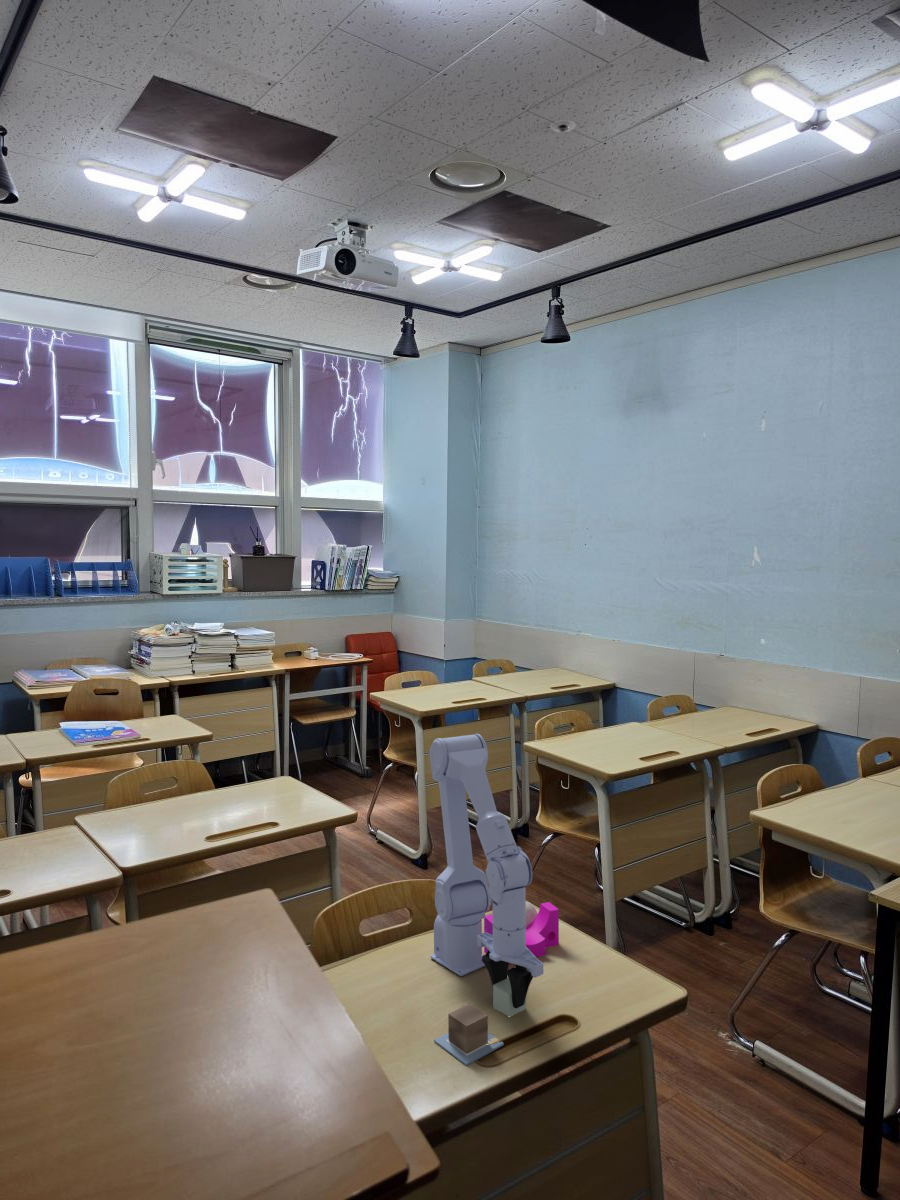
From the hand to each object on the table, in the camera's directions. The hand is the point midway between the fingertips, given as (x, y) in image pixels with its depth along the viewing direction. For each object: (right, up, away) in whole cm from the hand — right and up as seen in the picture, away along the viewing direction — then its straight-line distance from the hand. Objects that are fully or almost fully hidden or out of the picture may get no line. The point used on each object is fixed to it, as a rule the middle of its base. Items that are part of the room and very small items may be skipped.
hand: (509, 1000), depth 137 cm
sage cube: (0, -1, 0) cm, 1 cm away
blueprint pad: (-7, -2, -10) cm, 12 cm away
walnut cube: (-7, -2, -10) cm, 13 cm away
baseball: (+5, 0, +27) cm, 28 cm away
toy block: (+5, -1, +20) cm, 21 cm away
